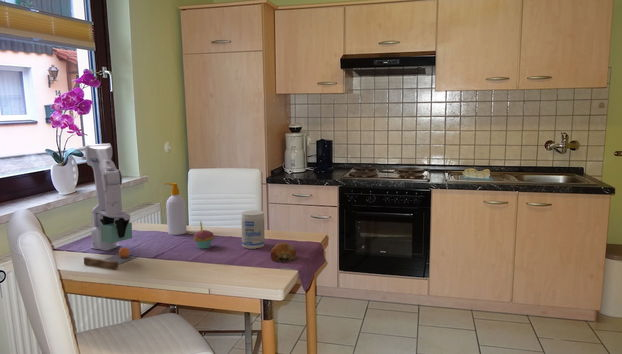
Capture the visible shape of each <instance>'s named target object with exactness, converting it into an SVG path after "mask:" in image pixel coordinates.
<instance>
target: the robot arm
mask: <svg viewBox="0 0 622 354" xmlns="http://www.w3.org/2000/svg"><path fill="white" fill-rule="evenodd" d="M84 152H85V153H84V154H85V161H86V164H87V165H88V166H90V167H91V168H92V171H93V177H94V184H95V193H96V200H97V205H96V206H94V207H93V208H92V209H91V223H92V227H93V228H92V230H91V246H90V249H96V250H100V251H101V250H102V251H109V250H113V249H115V248H119V247H121V246H122V244H120V243H117V242H115V243H107V242H101V225H106V224H111V223H115V224H116V226H117V230H118V236H119V238H122V237H124V236H125V231H126V227H127V225H128V223H129V222H130V220H131V213H130V214H129V213H126V212H125V211H124V210H123V203H122V189H121V187H122V184H123V183H122V182H123V175H122V172H121V169H117V167H116V165H115V162H114V161H113V160H112V159H113V158H112V157H113V147H112V145H111V143H109V142H107V143H95V144H94V143H93V144H89V143H87V144H86V145H85V147H84Z"/></svg>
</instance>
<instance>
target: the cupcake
mask: <svg viewBox="0 0 622 354" xmlns="http://www.w3.org/2000/svg"><path fill="white" fill-rule="evenodd" d="M199 225H200V230H199V231H197V232H195V233H194V234H193V240H194V241H195V243H196V245H197V248H199V249H208V248H211V243H212V241H213V240H214V238H215V236H214V233H213V232H212V231H210V230H206V229H204V230H203V222H202V220H200V222H199Z"/></svg>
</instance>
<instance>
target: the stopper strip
mask: <svg viewBox="0 0 622 354" xmlns="http://www.w3.org/2000/svg"><path fill="white" fill-rule="evenodd" d="M83 264H84V265H88V266H94V267H99V268H105V269H110V268H111V270H118V269H119V265H118V262H115V261H109V260H103V259H102V258H96V257H90V256H85V257H83Z"/></svg>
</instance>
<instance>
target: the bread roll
mask: <svg viewBox="0 0 622 354" xmlns="http://www.w3.org/2000/svg"><path fill="white" fill-rule="evenodd" d="M296 255H297V252H296V248H295V247H294V246H293V245H292V244H290V243H288V242H279V243H277V244H275V245H274V247H272V248H271V251H270V259H271V260H272V261H273V262H275V263H276V262H279V263H286V262H287V263H288V262H291V261H293V260H295V259H296Z"/></svg>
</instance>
